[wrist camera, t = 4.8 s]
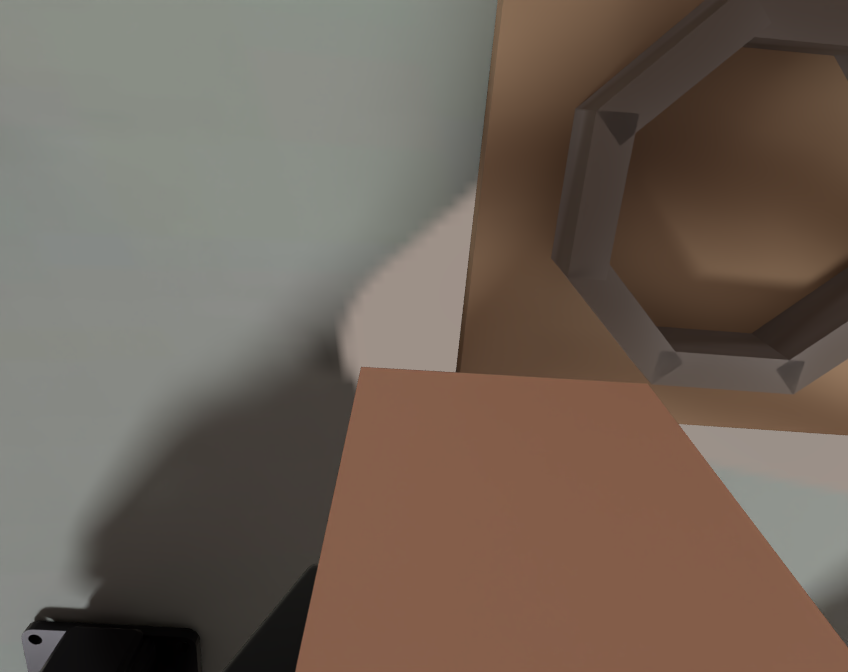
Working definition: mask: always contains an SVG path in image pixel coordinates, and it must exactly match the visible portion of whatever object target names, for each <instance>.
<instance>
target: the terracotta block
mask: <svg viewBox="0 0 848 672" xmlns="http://www.w3.org/2000/svg"><path fill="white" fill-rule="evenodd" d="M295 672H848V647H847V646H846V644H845V643H844V642H843V640H842V639H841V638H840V637H839V635H838V634H837V633H836V631H835V630H834V629H833V627H832V626H831V625H830V623H829V622H828V621H827V619H826V618H825V617H824V615H823V614H822V613H821V611H820V610H819V609H818V608H817V606H816V605H815V604H814V602H813V601H812V600H811V598H810V597H809V596H808V594H807V593H806V592H805V590H804V589H803V588H802V586H801V585H800V584H799V583H798V581H797V580H796V579H795V577H794V576H793V575H792V573H791V572H790V571H789V569H788V568H787V567H786V565H785V564H784V563H783V561H782V560H781V559H780V557H779V556H778V555H777V554H776V552H775V551H774V550H773V548H772V547H771V546H770V544H769V543H768V542H767V540H766V539H765V538H764V536H763V535H762V534H761V532H760V531H759V530H758V528H757V527H756V526H755V525H754V523H753V522H752V521H751V519H750V518H749V517H748V515H747V514H746V513H745V511H744V510H743V509H742V507H741V506H740V505H739V503H738V502H737V501H736V500H735V498H734V497H733V496H732V494H731V493H730V492H729V490H728V489H727V488H726V486H725V485H724V484H723V482H722V481H721V480H720V478H719V477H718V476H717V474H716V473H715V472H714V471H713V469H712V468H711V467H710V465H709V464H708V463H707V461H706V460H705V459H704V457H703V456H702V455H701V453H700V452H699V451H698V449H697V448H696V447H695V446H694V444H693V443H692V442H691V440H690V439H689V438H688V436H687V435H686V434H685V432H684V431H683V430H682V428H681V427H680V426H679V424H678V423H677V422H676V420H675V419H674V418H673V417H672V415H671V414H670V413H669V411H668V410H667V409H666V407H665V406H664V405H663V403H662V402H661V401H660V399H659V398H658V397H657V395H656V394H655V393H654V391H653V390H652V389H651V388H650V386H649V385H648V384H645V383H627V382H610V381H593V380H576V379H559V378H542V377H525V376H508V375H491V374H474V373H457V372H439V371H421V370H405V369H387V368H370V367H361V370H360V374H359V379H358V384H357V388H356V393H355V398H354V402H353V407H352V411H351V416H350V421H349V425H348V430H347V435H346V439H345V444H344V449H343V453H342V458H341V462H340V467H339V472H338V476H337V481H336V486H335V490H334V495H333V499H332V504H331V509H330V513H329V518H328V523H327V527H326V532H325V536H324V541H323V546H322V550H321V555H320V560H319V564H318V569H317V573H316V578H315V583H314V587H313V592H312V597H311V601H310V606H309V610H308V615H307V620H306V624H305V629H304V634H303V638H302V643H301V647H300V652H299V657H298V661H297V666H296V671H295Z"/></svg>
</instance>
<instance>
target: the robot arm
mask: <svg viewBox="0 0 848 672" xmlns="http://www.w3.org/2000/svg"><path fill="white" fill-rule="evenodd" d="M317 569H318V564H314V565H311V566H310V567H309V568H308V569H307V570H306V571H305V572H304V574H303V575H302V576H301V577H300V578H299V580H298V581H297V582H296V583H295V584H294V586H293V587H292V588H291V589H290V590H289V592H288V593H287V594H286V595H285V597H284V598H283V599H282V600H281V601H280V603H279V604H278V605H277V606H276V607H275V609H274V610H273V611H272V612H271V613H270V615H269V616H268V617H267V618H266V620H265V621H264V622H263V623H262V624H261V626H260V627H259V628H258V629H257V630H256V632H255V633H254V634H253V635H252V636H251V638H250V639H249V640H248V641H247V642H246V644H245V645H244V646H243V647H242V649H241V650H240V651H239V652H238V653H237V655H236V656H235V657H234V658H233V659H232V661H231V662H230V663H229V664H228V665H227V667H226V668H225V669H224V670H223V672H295V671H296V666H297V661H298V657H299V652H300V647H301V643H302V638H303V634H304V629H305V624H306V620H307V615H308V610H309V606H310V601H311V597H312V592H313V587H314V583H315V578H316V573H317ZM184 642H186V643H184ZM22 644H23V648H24V653H25V658H26V663H27V668H28V672H202V664H201V648H200V638H199V635H198V634H197V633H196V632H195V631H193V630H191V629H186V628H167V627H147V626H127V625H107V624H88V623H68V622H48V621H35V622H32V623H30V625H29V626H28V627H27V629H26V630H25V632H24V633H23V634H22Z"/></svg>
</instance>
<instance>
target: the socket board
mask: <svg viewBox="0 0 848 672" xmlns="http://www.w3.org/2000/svg"><path fill="white" fill-rule="evenodd" d="M456 372H457V373H474V374H491V375H508V376H525V377H542V378H559V379H576V380H593V381H610V382H627V383H645V384H648V385H649V386H650V388H651V389H652V390H653V391H654V393H655V394H656V395H657V397H658V398H659V399H660V401H661V402H662V403H663V405H664V406H665V407H666V409H667V410H668V411H669V413H670V414H671V415H672V417H673V418H674V419H675V420H676V422H677V423H678V424H687V425H703V426H717V427H732V428H747V429H761V430H776V431H777V430H778V431H792V432H806V433H821V434H836V435H848V0H498V4H497V13H496V21H495V30H494V39H493V48H492V57H491V66H490V75H489V83H488V92H487V101H486V110H485V119H484V128H483V137H482V145H481V154H480V163H479V172H478V181H477V190H476V199H475V207H474V216H473V225H472V234H471V244H470V252H469V261H468V269H467V279H466V287H465V296H464V305H463V314H462V323H461V332H460V340H459V349H458V358H457V367H456Z"/></svg>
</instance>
